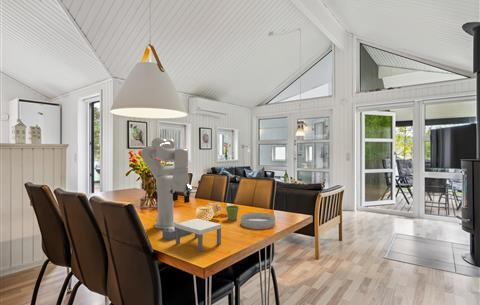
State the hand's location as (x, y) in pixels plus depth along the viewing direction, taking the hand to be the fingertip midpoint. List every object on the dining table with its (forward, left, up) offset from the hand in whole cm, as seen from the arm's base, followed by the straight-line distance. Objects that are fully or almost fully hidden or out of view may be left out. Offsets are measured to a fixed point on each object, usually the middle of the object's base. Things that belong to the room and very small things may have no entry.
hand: (180, 201), depth 149 cm
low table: (+19, -4, -18) cm, 27 cm away
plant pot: (0, +44, -19) cm, 48 cm away
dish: (+20, +46, -19) cm, 54 cm away
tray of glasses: (0, -1, -19) cm, 19 cm away
